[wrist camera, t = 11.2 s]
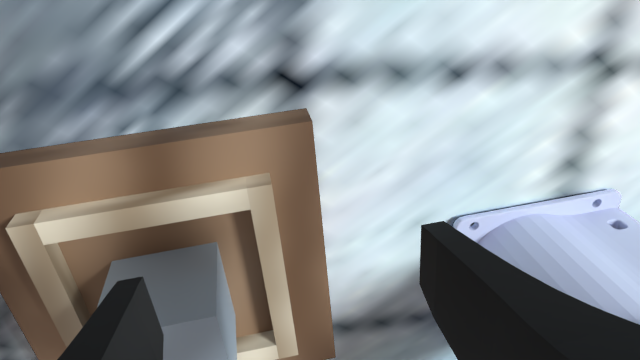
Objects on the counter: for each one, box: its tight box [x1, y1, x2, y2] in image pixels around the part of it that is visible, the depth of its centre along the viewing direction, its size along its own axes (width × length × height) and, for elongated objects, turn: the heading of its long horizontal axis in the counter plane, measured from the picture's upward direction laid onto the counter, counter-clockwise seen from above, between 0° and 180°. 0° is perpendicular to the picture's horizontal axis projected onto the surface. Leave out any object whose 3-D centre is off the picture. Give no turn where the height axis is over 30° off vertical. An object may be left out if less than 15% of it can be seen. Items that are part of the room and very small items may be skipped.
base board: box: [0, 108, 335, 360], centre depth 21 cm, size 14×14×2 cm
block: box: [97, 242, 237, 360], centre depth 19 cm, size 4×4×4 cm
